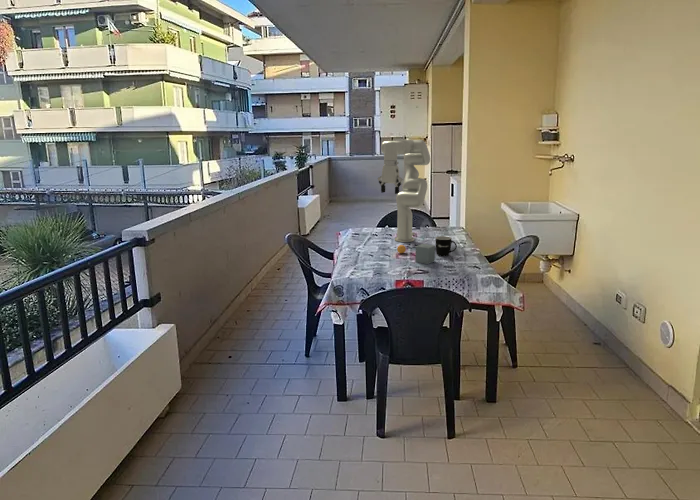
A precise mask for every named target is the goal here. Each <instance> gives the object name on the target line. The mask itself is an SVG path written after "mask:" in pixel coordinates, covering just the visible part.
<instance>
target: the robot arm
mask: <svg viewBox="0 0 700 500" xmlns="http://www.w3.org/2000/svg"><path fill="white" fill-rule="evenodd" d="M380 150H381V153H382V154H383V165H382V170H381V175H380V176H379V177H377V180H378V183H379V185H380V192H381V193H382V194H383V193H385V192H386V184H394V186H395V187H394V194H395V195H396V199H395V201H396V206H397V208H396V209H397V222H396V223H397V224H396V225H397V227H396V228H397V231H396V232H397V234H396V235H397V236H396V237H395V238H394V241H396V242H399V243H411V242H415V238H414V237H413V236H414V235H416V234H415V232H413V212H412V209H411V208H421V207H423V205H424V201H425V199H426V195H427V190H428V181H427V180H426V178H421V177H420V178H419V176H420V173H419V171H418V169H417V167H415V166H428V165H429V164H430V162H431V156H430V155H431V154H430V152H429V148H428V145H427V143H426V141H425V140H422V139H397V140H385V141H383V142H382V143H381V145H380ZM398 155H404V156H403V162H404V167H405V176H404V178H402V177H400V168H399V166H398V165H399V161H398ZM401 185H402V188H401V189H402V191H400V187H401Z"/></svg>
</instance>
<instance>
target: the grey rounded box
mask: <svg viewBox="0 0 700 500" xmlns="http://www.w3.org/2000/svg"><path fill="white" fill-rule="evenodd" d="M435 252H436V245H434V244H426V243H421V244H419V245H416V246H415V255H414V256H415V258H414V260H415V263H418V262H419V263H420V264H425V265H429V264H431V263H433V262H435V260H436V259H435V258H436V253H435Z"/></svg>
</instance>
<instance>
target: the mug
mask: <svg viewBox="0 0 700 500" xmlns="http://www.w3.org/2000/svg"><path fill="white" fill-rule="evenodd" d="M452 243H453V244H454V246H455V247H454V249H453V250H451V249H452ZM457 247H458V245H457V243H456V242H455V241H454V240H453V238H452V237H450V236H445V235H444V236H443V235H440V236H436V237H435V252H436V255H437V256H439V257H448V256H449V255H450V253H453V252H455V251H456V249H457Z"/></svg>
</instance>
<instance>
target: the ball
mask: <svg viewBox="0 0 700 500" xmlns="http://www.w3.org/2000/svg"><path fill="white" fill-rule="evenodd" d="M396 250H397V253H398V254H404V253H405V252H406V250H407V248H406V246H405V245H403V244H400V245H398V246H397V247H396Z"/></svg>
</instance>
